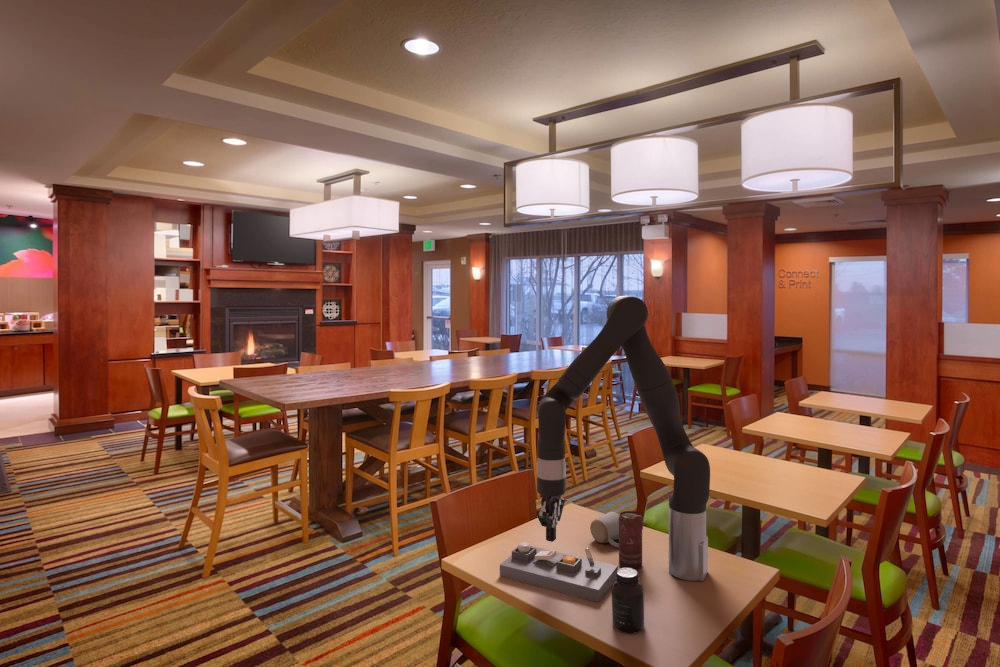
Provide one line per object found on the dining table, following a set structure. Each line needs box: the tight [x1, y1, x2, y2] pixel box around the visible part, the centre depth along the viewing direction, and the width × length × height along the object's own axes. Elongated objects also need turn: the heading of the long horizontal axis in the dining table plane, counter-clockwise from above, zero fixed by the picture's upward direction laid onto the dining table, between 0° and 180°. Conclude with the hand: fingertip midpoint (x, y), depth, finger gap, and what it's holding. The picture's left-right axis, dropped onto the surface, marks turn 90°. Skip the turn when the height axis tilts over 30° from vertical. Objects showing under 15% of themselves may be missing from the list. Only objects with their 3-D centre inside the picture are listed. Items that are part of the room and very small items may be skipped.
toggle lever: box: [584, 547, 595, 567], centre depth 140 cm, size 1×1×5 cm
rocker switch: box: [535, 550, 557, 560], centre depth 146 cm, size 5×3×1 cm
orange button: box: [563, 555, 575, 565], centre depth 143 cm, size 3×3×2 cm
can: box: [618, 510, 644, 571], centre depth 150 cm, size 6×6×14 cm
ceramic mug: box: [589, 511, 620, 549], centre depth 165 cm, size 11×8×8 cm
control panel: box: [499, 545, 619, 603], centre depth 145 cm, size 27×14×5 cm, turn 60°
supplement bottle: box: [611, 567, 645, 634], centre depth 122 cm, size 7×7×12 cm
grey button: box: [517, 542, 531, 554], centre depth 150 cm, size 3×3×2 cm
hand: (550, 540), depth 145 cm, fingers closed
